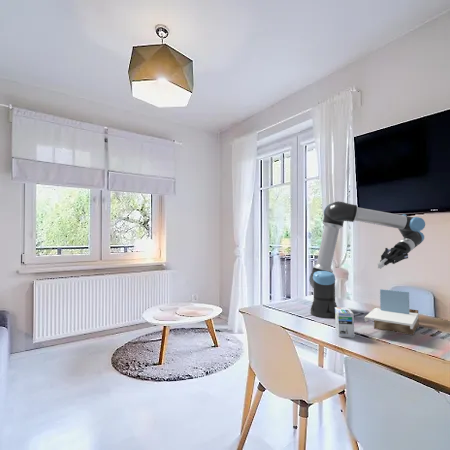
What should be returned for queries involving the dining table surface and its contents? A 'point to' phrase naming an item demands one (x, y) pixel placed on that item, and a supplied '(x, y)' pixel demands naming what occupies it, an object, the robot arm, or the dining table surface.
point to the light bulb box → (344, 322)
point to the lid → (393, 309)
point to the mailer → (397, 326)
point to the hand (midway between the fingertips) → (379, 266)
